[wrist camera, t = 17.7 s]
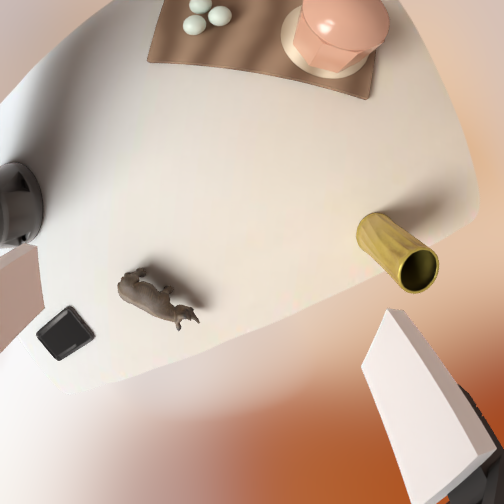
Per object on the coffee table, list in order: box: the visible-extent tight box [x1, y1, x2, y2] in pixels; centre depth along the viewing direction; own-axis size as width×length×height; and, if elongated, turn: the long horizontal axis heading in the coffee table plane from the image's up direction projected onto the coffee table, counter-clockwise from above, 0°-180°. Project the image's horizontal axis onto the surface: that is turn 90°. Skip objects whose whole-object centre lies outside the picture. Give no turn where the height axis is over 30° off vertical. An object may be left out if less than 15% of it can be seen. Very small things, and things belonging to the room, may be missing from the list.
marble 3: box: [208, 6, 232, 26], centre depth 30 cm, size 3×3×3 cm
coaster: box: [281, 5, 369, 79], centre depth 31 cm, size 12×12×1 cm
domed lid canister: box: [293, 0, 389, 73], centre depth 27 cm, size 9×9×10 cm
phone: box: [36, 306, 94, 361], centre depth 50 cm, size 8×1×15 cm
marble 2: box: [183, 15, 206, 35], centre depth 30 cm, size 3×3×3 cm
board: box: [147, 0, 376, 100], centre depth 32 cm, size 30×14×1 cm, turn 79°
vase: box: [356, 213, 439, 294], centre depth 35 cm, size 6×6×14 cm
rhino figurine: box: [118, 268, 200, 331], centre depth 43 cm, size 4×14×6 cm, turn 59°
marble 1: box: [189, 0, 212, 14], centre depth 29 cm, size 3×3×3 cm
